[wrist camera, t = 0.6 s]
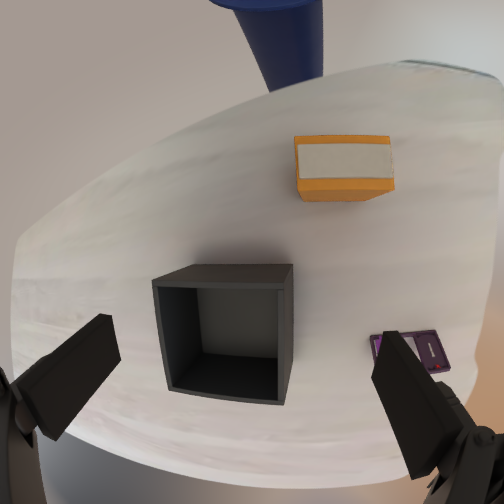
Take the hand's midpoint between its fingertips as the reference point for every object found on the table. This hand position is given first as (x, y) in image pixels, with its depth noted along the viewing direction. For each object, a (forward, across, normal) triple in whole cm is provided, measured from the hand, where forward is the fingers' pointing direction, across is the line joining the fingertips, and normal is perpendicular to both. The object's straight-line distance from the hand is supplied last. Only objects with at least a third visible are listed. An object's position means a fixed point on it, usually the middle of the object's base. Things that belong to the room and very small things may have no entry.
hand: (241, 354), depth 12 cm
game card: (+17, +18, -11) cm, 27 cm away
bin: (+20, -2, -8) cm, 22 cm away
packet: (+20, +8, +8) cm, 23 cm away
